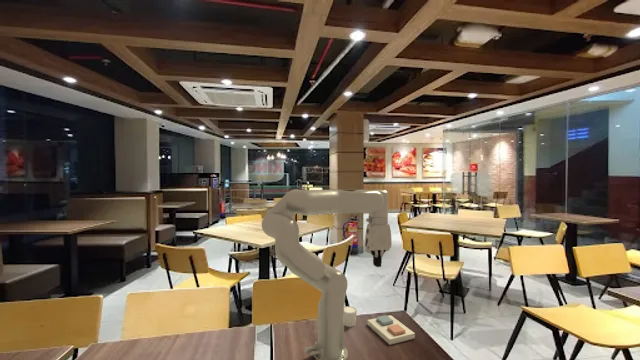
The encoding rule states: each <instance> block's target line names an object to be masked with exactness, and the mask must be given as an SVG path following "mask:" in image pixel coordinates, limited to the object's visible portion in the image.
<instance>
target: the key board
mask: <svg viewBox="0 0 640 360" xmlns="http://www.w3.org/2000/svg"><path fill="white" fill-rule="evenodd" d="M387 316H388V317H389V318H391V319H392V320H393V324H391V325H396V324H398V325H399V326H401V327H402V328H403V329H405V334H402V335H398V336H394V335H393V334H392V333H390V332H389V331H388V330H387V326H391V325H386V326H382V325H381V324H380V323H378V322H377V321H376V317H375V318H370V319H367V326H368V327H370V329H372V330H373V331H374V332H375V333H376V334H378V335H379V337H381V339H383V341H384V342H386V343H387V345H394V344H398V343H401V342H406V341H409V340H410V341H411V340H414V339H416V333H415V332H414V331H413V330H412V329H410V328H409V327H407V326H406V325H404V324H403V323H402V322H400V321H399V320H398V319H396V318H395V316H393V315H387Z"/></svg>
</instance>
